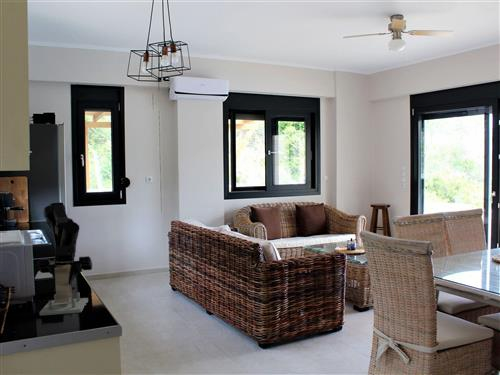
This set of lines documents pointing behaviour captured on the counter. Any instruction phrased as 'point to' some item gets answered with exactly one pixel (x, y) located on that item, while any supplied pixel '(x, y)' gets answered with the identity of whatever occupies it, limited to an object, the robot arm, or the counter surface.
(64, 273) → the maple block
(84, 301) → the base plate
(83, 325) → the counter surface
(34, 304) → the counter surface
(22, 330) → the counter surface
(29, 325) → the counter surface
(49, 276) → the phone case
